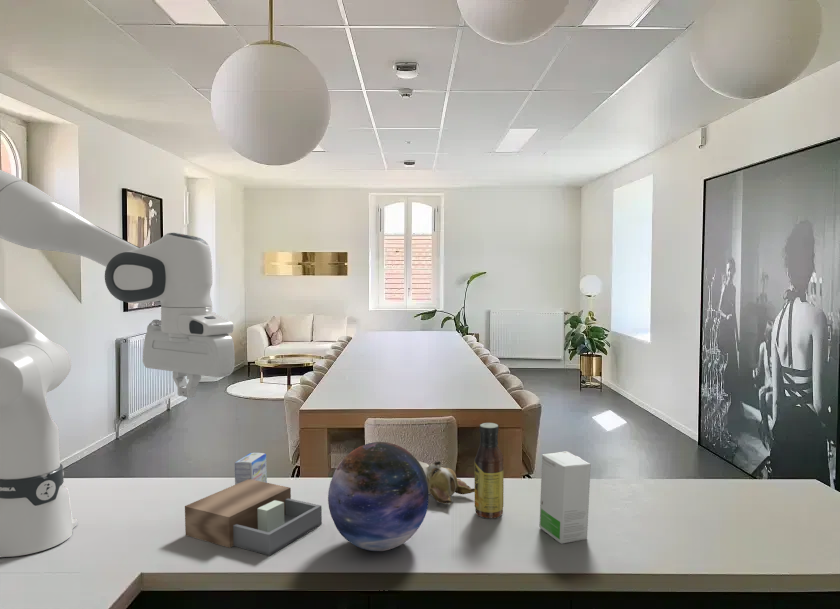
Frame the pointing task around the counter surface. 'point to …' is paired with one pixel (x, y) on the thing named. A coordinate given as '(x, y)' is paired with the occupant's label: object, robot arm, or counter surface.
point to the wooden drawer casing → (230, 510)
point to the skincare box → (564, 496)
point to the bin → (280, 529)
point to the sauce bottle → (489, 474)
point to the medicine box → (251, 468)
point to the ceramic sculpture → (443, 482)
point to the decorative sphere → (378, 496)
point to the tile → (270, 516)
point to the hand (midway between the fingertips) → (186, 396)
